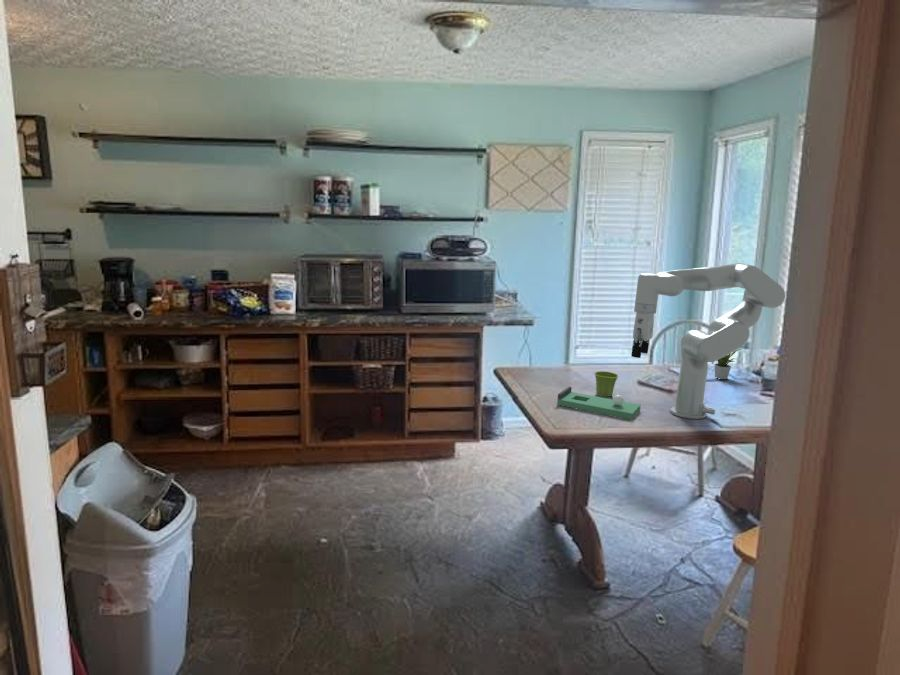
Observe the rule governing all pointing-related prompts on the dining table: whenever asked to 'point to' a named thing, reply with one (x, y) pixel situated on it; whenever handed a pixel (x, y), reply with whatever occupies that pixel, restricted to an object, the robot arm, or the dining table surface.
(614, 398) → the ball
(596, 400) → the green
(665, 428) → the dining table surface
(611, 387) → the plant pot
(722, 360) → the house plant
